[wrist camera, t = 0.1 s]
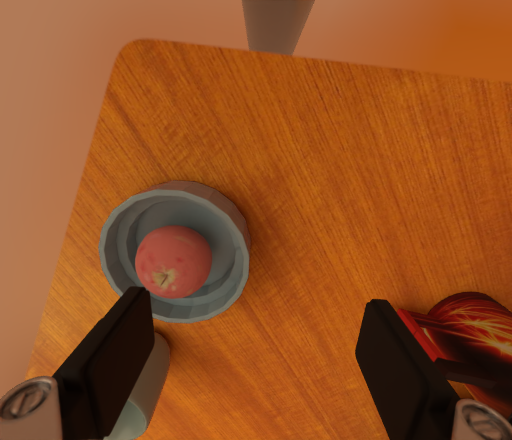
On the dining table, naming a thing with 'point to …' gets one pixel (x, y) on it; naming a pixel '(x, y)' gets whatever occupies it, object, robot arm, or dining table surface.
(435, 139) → the dining table surface
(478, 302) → the mug
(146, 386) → the cup
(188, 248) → the apple
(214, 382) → the dining table surface
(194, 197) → the bowl
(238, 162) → the dining table surface
